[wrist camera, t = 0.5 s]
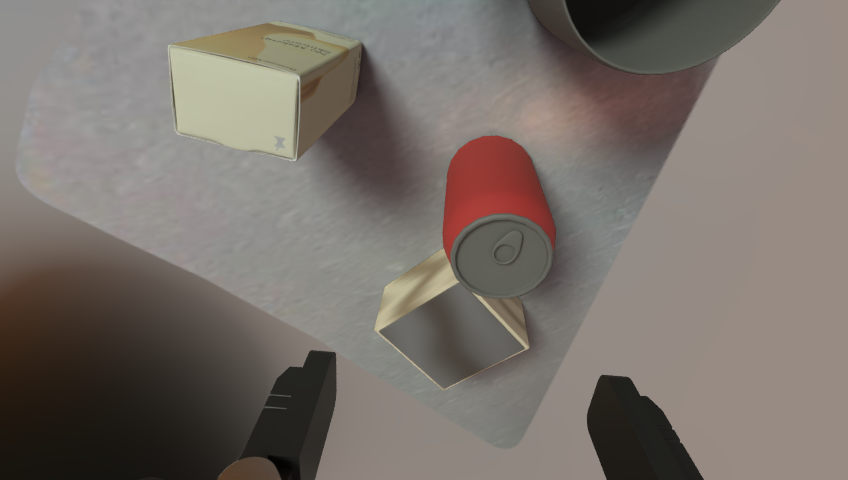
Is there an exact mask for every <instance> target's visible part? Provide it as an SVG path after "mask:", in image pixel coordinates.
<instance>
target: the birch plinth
mask: <svg viewBox="0 0 848 480" xmlns="http://www.w3.org/2000/svg"><path fill="white" fill-rule="evenodd" d="M374 330H375V331H376V332H377V333H378V334H380V335H381V336H382V337H383V338H384V339H385V340H386V341H388V342H389V343H390V344H391V345H392V346H393V347H394V348H396V349H397V350H398V351H399V352H400V353H401V354H402V355H403V356H405V357H406V358H407V359H408V360H409V361H410V362H411V363H413V364H414V365H415V366H416V367H417V368H418V369H419V370H421V371H422V372H423V373H424V374H425V375H426V376H427V377H428V378H430V379H431V380H432V381H433V382H434V383H435V384H436V385H438V386H439V387H440V388H441V389H442V390H445V389H447V388H450V387H452V386H454V385H456V384H458V383H460V382H462V381H464V380H466V379H468V378H470V377H472V376H474V375H476V374H478V373H480V372H482V371H484V370H486V369H488V368H490V367H492V366H494V365H496V364H498V363H500V362H502V361H504V360H506V359H508V358H510V357H512V356H514V355H516V354H518V353H521V352H523V351H525V350H527V349H529V348H530V347H529V342H528V336H527V331H526V325H525V319H524V314H523V308H522V303H521V301H520V300H519V299H518V298H517V297H513V298H509V299H491V298H486V297H482V296H478V295H476V294H475V293H473V292H471V291H469V290H467V289H466V288H465V287H464V286H463V285H462V284H461V283H460V282H459V281H458V280H457V279H456V277H455V275H454V273H453V270H452V268H451V264H450V262H449V260H448V258H447V256H446V253H445V250H444V248H443V249H441V250H440V251H438V252H437V253H435V254H434V255H432V256H431V257H429V258H428V259H426V260H425V261H423V262H422V263H420V264H418V265H417V266H415V267H414V268H412V269H411V270H409V271H408V272H406V273H405V274H403V275H402V276H400V277H399V278H397V279H396V280H394V281H393V282H391V283H390V284H388V285H387V286H385V289H384V293H383V297H382V301H381V305H380V309H379V313H378V317H377V321H376V325H375V329H374Z"/></svg>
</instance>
